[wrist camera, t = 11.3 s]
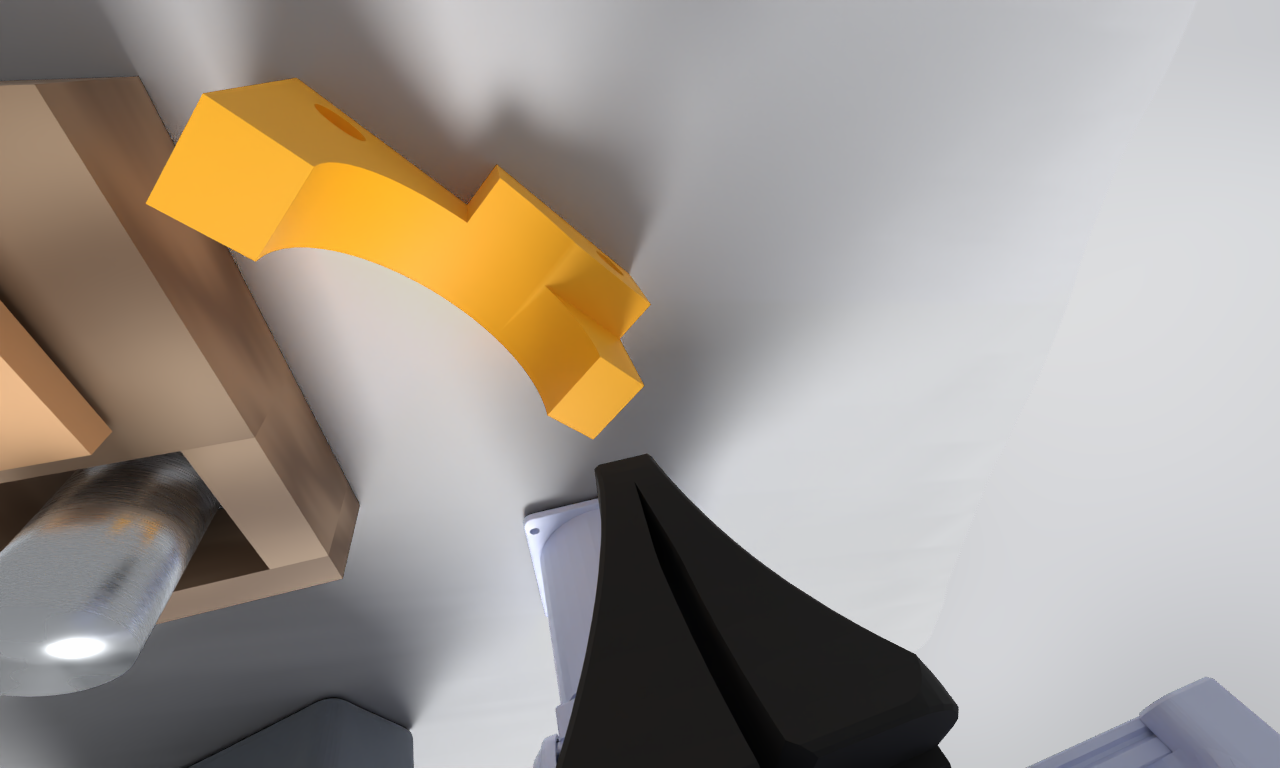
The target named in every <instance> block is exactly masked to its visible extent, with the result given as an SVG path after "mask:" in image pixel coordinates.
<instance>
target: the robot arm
mask: <svg viewBox="0 0 1280 768" xmlns="http://www.w3.org/2000/svg"><path fill="white" fill-rule="evenodd" d="M595 477H596V485H597V493H598V498H597V499H593V500H589V501H584V502H580V503H576V504H572V505H568V506H563V507H559V508H555V509H551V510H546V511H542V512H538V513H534V514H530V515H528V516H526V517H525V518H524V520H523V524H524V529H525V534H526V538H527V542H528V546H529V550H530V554H531V558H532V563H533V567H534V571H535V575H536V579H537V583H538V588H539V592H540V596H541V600H542V604H543V608H544V612H545V615H546V617H548V620H549V627H550V634H551V641H552V647H553V654H554V661H555V668H556V675H557V682H558V689H559V695H560V702H561V705H559V706H557V707H556V717H557V724H558V731H559V736H558V735H557V734H554V735H552V736H549V737H547V738H545V739H544V740H543V742H542V746H541V749H540V751H539V753H538V755H537V757H536V759H535V761H534V764H533V768H951V765H950V763H949V761H948V760H947V758H946V757H945V755H944V754H943V752H942V751H941V750H940V748H939V747H938V744H939V742H940V741H941V740H942V739H943V738H944V737H945V736H946V734H947V733H948V732H949V731H950V729H951V728H952V727H953V726H954V724H955V723H956V721H957V719H958V706H957V704H956V703H955V702H954V700H953V699H952V697H951V696H950V695H949V694H948V692H947V691H946V690H945V688H944V687H943V685H942V684H941V683H940V682H939V680H938V679H937V678H936V677H935V676H934V674H933V673H932V672H931V671H930V670H929V669H928V668H927V667H926V666H925V664H923V662H922V661H921V660H920V659H919V658H918V657H917V655H916V654H914V653H912V652H910V651H908V650H906V649H904V648H902V647H900V646H898V645H896V644H894V643H892V642H890V641H888V640H886V639H884V638H882V637H880V636H878V635H876V634H874V633H872V632H871V631H869V630H867V629H865V628H863V627H861V626H859V625H858V624H856V623H854V622H852V621H851V620H849V619H847V618H845V617H844V616H842V615H840V614H838V613H837V612H835V611H833V610H831V609H830V608H828V607H827V606H825V605H824V604H822V603H820V602H819V601H817V600H816V599H814V598H812V597H811V596H809V595H808V594H806V593H805V592H803V591H801V590H800V589H798V588H797V587H795V586H794V585H792V584H790V583H789V582H788V581H786V580H785V579H783V578H782V577H781V576H779V575H778V574H776V573H775V572H773V571H772V570H771V569H769V568H768V567H767V566H765V565H764V564H763V563H761V562H760V561H759V560H757V559H756V558H755V557H753V556H752V555H751V554H749V553H748V552H747V551H746V550H744V549H743V548H742V547H741V546H740V545H738V544H737V543H736V542H735V541H734V540H732V539H731V538H730V537H729V536H728V535H727V534H726V533H724V532H723V531H722V530H721V529H720V528H719V527H718V526H716V525H715V524H714V523H713V522H712V521H711V520H710V519H709V518H708V517H707V516H706V515H705V514H704V513H703V512H702V511H701V510H700V509H699V508H698V507H697V506H696V505H694V504H693V503H692V502H691V501H690V500H689V499H688V498H687V497H686V495H685V494H684V493H683V492H682V491H681V490H680V489H679V488H678V487H677V486H676V485H675V484H674V483H673V482H672V481H671V479H670V478H669V477H668V476H667V475H666V474H665V473H664V471H663V470H662V469H661V468H660V467H659V465H658V464H657V463H656V462H655V461H654V459H653V458H652V457H651V456H650V455H648V454H644V455H639V456H635V457H631V458H627V459H622V460H618V461H614V462H609V463H605V464H601V465H598V466H597V467H596V469H595ZM533 528H536V529H533ZM1026 768H1280V734H1278V733H1277V732H1276V731H1275V730H1274V729H1272V728H1271V727H1270V726H1269V725H1268V724H1266V723H1265V722H1264V721H1263V720H1262V719H1261V718H1259V717H1258V716H1257V715H1256V714H1255V713H1253V712H1252V711H1251V710H1250V709H1249V708H1247V707H1246V706H1245V705H1244V704H1243V703H1242V702H1240V701H1239V700H1238V699H1237V698H1236V697H1234V696H1233V695H1232V694H1231V693H1230V692H1229V691H1227V690H1226V689H1225V688H1224V687H1223V686H1221V685H1220V684H1219V683H1217V681H1215V680H1214V679H1213V678H1209V677H1204V678H1202V679H1200V680H1198V681H1195V682H1193V683H1191V684H1188V685H1186V686H1184V687H1182V688H1180V689H1177V690H1175V691H1173V692H1171V693H1169V694H1167V695H1165V696H1163V697H1161V698H1160V699H1158V700H1156V701H1155V702H1153V703H1152V704H1150V705H1149V706H1148V707H1146V708H1145V709H1144V710H1143V711H1141V712H1140V714H1139V717H1136V718H1134V719H1132V720H1130V721H1127V722H1125V723H1123V724H1121V725H1119V726H1116V727H1114V728H1112V729H1110V730H1108V731H1106V732H1103V733H1101V734H1099V735H1097V736H1095V737H1092V738H1090V739H1088V740H1086V741H1084V742H1082V743H1079V744H1077V745H1075V746H1073V747H1070V748H1068V749H1066V750H1064V751H1062V752H1059V753H1057V754H1055V755H1053V756H1051V757H1049V758H1046V759H1044V760H1042V761H1040V762H1037V763H1035V764H1033V765H1031V766H1029V767H1026Z"/></svg>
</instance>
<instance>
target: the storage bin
mask: <svg viewBox="0 0 1280 768" xmlns="http://www.w3.org/2000/svg"><path fill="white" fill-rule="evenodd" d="M189 768H414V761H413V737H412V734H411V732H410V731H409V730H407V729H406V728H404V727H402V726H400V725H397V724H395V723H393V722H391V721H389V720H386V719H384V718H382V717H380V716H377V715H375V714H373V713H371V712H369V711H366V710H364V709H362V708H360V707H358V706H356V705H354V704H352V703H350V702H348V701H345V700H342V699H338V698H331V699H325V700H321V701H319V702H316V703H314V704H312V705H310V706H308V707H306V708H304V709H303V710H301V711H299V712H297V713H295V714H293V715H291V716H289V717H287V718H285V719H283V720H281V721H279V722H277V723H275V724H273V725H271V726H269V727H267V728H266V729H264V730H262V731H260V732H258V733H256V734H254V735H252V736H250V737H248V738H246V739H244V740H242V741H240V742H238V743H236V744H234V745H232V746H230V747H228V748H226V749H224V750H222V751H220V752H218V753H216V754H215V755H213V756H211V757H209V758H207V759H205V760H203V761H201V762H199V763H197V764H195V765H193V766H191V767H189Z"/></svg>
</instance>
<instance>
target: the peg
mask: <svg viewBox="0 0 1280 768" xmlns="http://www.w3.org/2000/svg"><path fill="white" fill-rule="evenodd" d="M219 506H220V502H219V501H218V500H217V498H216V497H215V496H214V495H213V493H212V492H211V491H210V489H209V488H208V487H207V485H206V484H205V483H204V481H203V480H202V479H201V477H200V476H199V475H198V473H197V472H196V471H195V469H194V468H193V467H192V465H191V464H190V463H189V461H188V460H187V459H186V457H185V456H184V455H183V453H182V452H181V451H178V452H172V453H167V454H161V455H155V456H150V457H144V458H139V459H133V460H128V461H122V462H116V463H111V464H105V465H100V466H94V467H89V468H83V469H77V470H76V471H75V472H74V473H73V474H72V476H71V477H70V478H69V479H68V480H67V481H66V482H65V483H64V484H63V485H62V486H61V488H60V489H59V490H58V491H57V492H56V493H55V494H54V495H53V496H52V497H51V498H50V499H49V501H48V502H47V503H46V504H45V505H44V506H43V507H42V508H41V509H40V510H39V511H38V512H37V514H36V515H35V516H34V517H33V518H32V519H31V520H30V521H29V522H28V523H27V524H26V525H25V527H24V528H23V529H22V530H21V531H20V532H19V533H18V534H17V535H16V536H15V537H14V538H13V540H12V541H11V542H10V543H9V544H8V545H7V546H6V547H5V548H4V549H3V550H2V551H1V553H0V695H3V696H22V697H34V696H51V695H61V694H67V693H73V692H78V691H83V690H87V689H90V688H94V687H97V686H100V685H103V684H105V683H108V682H110V681H112V680H114V679H116V678H118V677H120V676H121V675H123V674H124V673H125V672H127V671H128V670H129V669H130V668H131V667H132V666H133V664H134V663H135V662H136V660H137V658H138V656H139V654H140V652H141V651H142V649H143V647H144V645H145V643H146V641H147V639H148V638H149V636H150V634H151V632H152V630H153V628H154V626H155V625H156V623H157V621H158V619H159V617H160V615H161V613H162V612H163V610H164V608H165V606H166V604H167V602H168V600H169V599H170V597H171V595H172V593H173V591H174V589H175V587H176V586H177V584H178V582H179V580H180V578H181V576H182V574H183V572H184V571H185V569H186V567H187V565H188V563H189V561H190V559H191V558H192V556H193V554H194V552H195V550H196V548H197V546H198V545H199V543H200V541H201V539H202V537H203V535H204V533H205V532H206V530H207V528H208V526H209V524H210V522H211V520H212V519H213V517H214V515H215V513H216V511H217V509H218V507H219Z"/></svg>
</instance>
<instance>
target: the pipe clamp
mask: <svg viewBox="0 0 1280 768" xmlns="http://www.w3.org/2000/svg"><path fill="white" fill-rule="evenodd" d="M146 204H147V205H149V206H151V207H153V208H155V209H157V210H159V211H160V212H162V213H164V214H166V215H168V216H170V217H172V218H174V219H176V220H178V221H179V222H181V223H183V224H185V225H187V226H189V227H191V228H193V229H195V230H197V231H198V232H200V233H202V234H204V235H206V236H208V237H210V238H212V239H214V240H215V241H217V242H219V243H221V244H223V245H225V246H227V247H229V248H231V249H233V250H234V251H236V252H238V253H240V254H242V255H244V256H246V257H248V258H250V259H252V260H253V261H255V262H256V261H257V260H258V259H260V258H261V257H262V256H264V255H266V254H268V253H270V252H272V251H276V250H280V249H284V248H294V247H310V248H320V249H327V250H332V251H337V252H341V253H346V254H350V255H353V256H356V257H360V258H363V259H366V260H368V261H371V262H374V263H377V264H379V265H382V266H384V267H387V268H389V269H391V270H393V271H396V272H398V273H400V274H402V275H404V276H406V277H408V278H410V279H412V280H414V281H416V282H418V283H420V284H421V285H423V286H425V287H427V288H429V289H430V290H432V291H434V292H435V293H437V294H439V295H440V296H442V297H443V298H445V299H446V300H448V301H449V302H451V303H452V304H454V305H455V306H457V307H458V308H459V309H461V310H462V311H464V312H465V313H466V314H468V315H469V316H470V317H472V318H473V319H474V320H475V321H477V322H478V323H479V324H480V325H481V326H483V327H484V328H485V329H486V330H487V331H488V332H490V333H491V334H492V335H493V336H494V337H495V338H496V339H497V340H498V341H499V342H500V343H501V344H502V345H503V346H504V347H505V348H506V349H507V350H508V351H509V352H510V353H511V354H512V355H513V357H514V358H515V359H516V360H517V361H518V362H519V364H520V365H521V366H522V367H523V369H524V370H525V371H526V373H527V374H528V376H529V377H530V378H531V380H532V381H533V383H534V385H535V387H536V388H537V390H538V392H539V394H540V396H541V398H542V400H543V403H544V405H545V408H546V412H547V415H548V416H550V417H551V418H553V419H555V420H557V421H559V422H561V423H563V424H565V425H567V426H569V427H570V428H572V429H574V430H576V431H578V432H580V433H582V434H584V435H586V436H588V437H589V438H591V439H594V438H595V437H596V436H597V435H598V434H599V433H600V432H601V431H602V430H603V429H604V428H605V427H606V426H607V425H608V424H609V422H610V421H611V420H612V419H613V418H614V417H615V416H616V415H617V414H618V413H619V412H620V411H621V410H622V409H623V408H624V407H625V406H626V405H627V404H628V402H629V401H630V400H631V399H632V398H633V397H634V396H635V395H636V394H637V393H638V392H639V391H640V390H641V389H642V388H643V387H644V384H643V382H642V380H641V378H640V377H639V375H638V373H637V371H636V369H635V367H634V365H633V363H632V361H631V359H630V358H629V356H628V354H627V352H626V350H625V348H624V346H623V344H622V342H621V340H620V338H621V337H622V336H623V335H624V334H625V332H626V331H627V330H628V329H629V328H630V327H631V326H632V325H633V324H634V323H635V321H636V320H637V319H638V318H639V317H640V316H641V315H642V314H643V313H644V311H645V310H646V309H647V308H648V307H649V306H650V305H651V304H650V302H649V301H648V300H647V298H646V297H645V295H644V294H643V293H642V291H641V290H640V289H639V287H638V286H637V284H636V283H635V282H634V280H633V279H632V277H631V276H630V275H629V274H628V273H627V272H626V271H625V270H624V269H622V268H621V267H620V266H619V265H618V264H616V263H615V262H614V261H613V260H612V259H610V258H609V257H608V256H607V255H606V254H604V253H603V252H602V251H601V250H600V249H598V248H597V247H596V246H595V245H594V244H592V243H591V242H590V241H589V240H587V239H586V238H585V237H584V236H583V235H581V234H580V233H579V232H578V231H577V230H575V229H574V228H573V227H572V226H571V225H569V224H568V223H567V222H566V221H565V220H563V219H562V218H561V217H560V216H559V215H557V214H556V213H555V212H554V211H552V210H551V209H550V208H549V207H548V206H546V205H545V204H544V203H543V202H542V201H540V200H539V199H538V198H537V197H536V196H534V195H533V194H532V193H531V192H530V191H528V190H527V189H526V188H525V187H524V186H522V185H521V184H520V183H519V182H517V181H516V180H515V179H514V178H513V177H511V176H510V175H509V174H508V173H507V172H505V171H504V170H503V169H502V168H501V167H499V166H498V165H496V166H495V167H494V169H493V170H492V171H491V173H490V174H489V176H488V177H487V178H486V180H485V181H484V182H483V184H482V185H481V187H480V188H479V189H478V191H477V192H476V193H475V195H474V196H473V198H472V199H471V200H470V202H469V203H468V204H465V203H464V202H463V201H461V200H460V199H459V198H457V197H456V196H455V195H453V194H452V193H451V192H449V191H448V190H447V189H445V188H444V187H443V186H441V185H440V184H439V183H437V182H436V181H435V180H433V179H432V178H430V177H429V176H428V175H426V174H425V173H424V172H422V171H421V170H420V169H418V168H417V167H416V166H414V165H413V164H412V163H410V162H409V161H408V160H406V159H405V158H404V157H402V156H401V155H400V154H398V153H397V152H396V151H394V150H393V149H392V148H390V147H389V146H388V145H386V144H385V143H383V142H382V141H381V140H379V139H378V138H377V137H375V136H374V135H373V134H371V133H370V132H369V131H367V130H366V129H365V128H363V127H362V126H361V125H359V124H358V123H357V122H355V121H354V120H353V119H351V118H350V117H349V116H347V115H346V114H345V113H343V112H342V111H341V110H339V109H338V108H336V107H335V106H334V105H332V104H331V103H330V102H328V101H327V100H326V99H324V98H323V97H322V96H320V95H319V94H318V93H316V92H315V91H314V90H312V89H311V88H310V87H308V86H307V85H306V84H304V83H303V82H302V81H300V80H299V79H298V78H292V79H286V80H280V81H274V82H268V83H262V84H256V85H250V86H244V87H238V88H232V89H226V90H220V91H214V92H208V93H203V94H202V96H201V98H200V100H199V102H198V104H197V106H196V108H195V109H194V111H193V113H192V115H191V117H190V119H189V121H188V123H187V125H186V127H185V129H184V131H183V133H182V134H181V136H180V138H179V140H178V142H177V144H176V146H175V148H174V150H173V152H172V154H171V156H170V158H169V159H168V161H167V163H166V165H165V167H164V169H163V171H162V173H161V175H160V177H159V179H158V181H157V183H156V184H155V186H154V188H153V190H152V192H151V194H150V196H149V198H148V200H147V202H146Z"/></svg>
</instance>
